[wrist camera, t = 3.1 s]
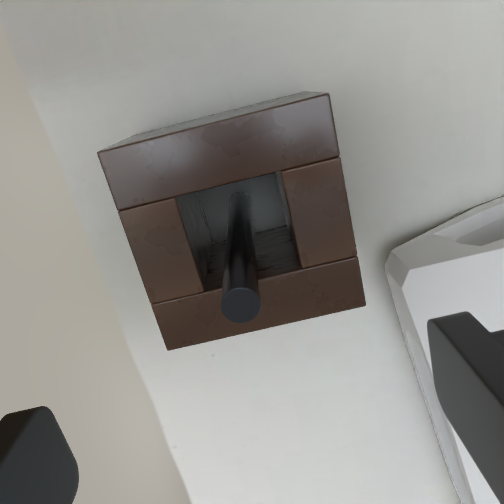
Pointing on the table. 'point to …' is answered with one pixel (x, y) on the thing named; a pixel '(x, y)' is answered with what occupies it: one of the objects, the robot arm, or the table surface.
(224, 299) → the stylus
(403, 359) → the table surface
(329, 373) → the table surface
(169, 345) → the pen stand
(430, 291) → the document scanner
